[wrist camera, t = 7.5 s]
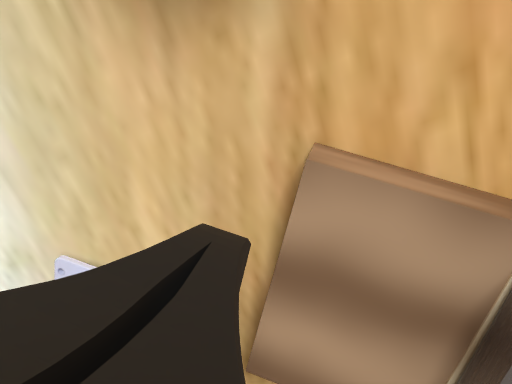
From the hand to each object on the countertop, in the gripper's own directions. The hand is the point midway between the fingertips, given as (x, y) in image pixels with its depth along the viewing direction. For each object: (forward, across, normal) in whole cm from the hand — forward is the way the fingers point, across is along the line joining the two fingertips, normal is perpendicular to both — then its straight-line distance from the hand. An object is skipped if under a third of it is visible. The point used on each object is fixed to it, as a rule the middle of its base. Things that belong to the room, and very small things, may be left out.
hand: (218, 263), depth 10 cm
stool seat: (+9, -7, +5) cm, 13 cm away
